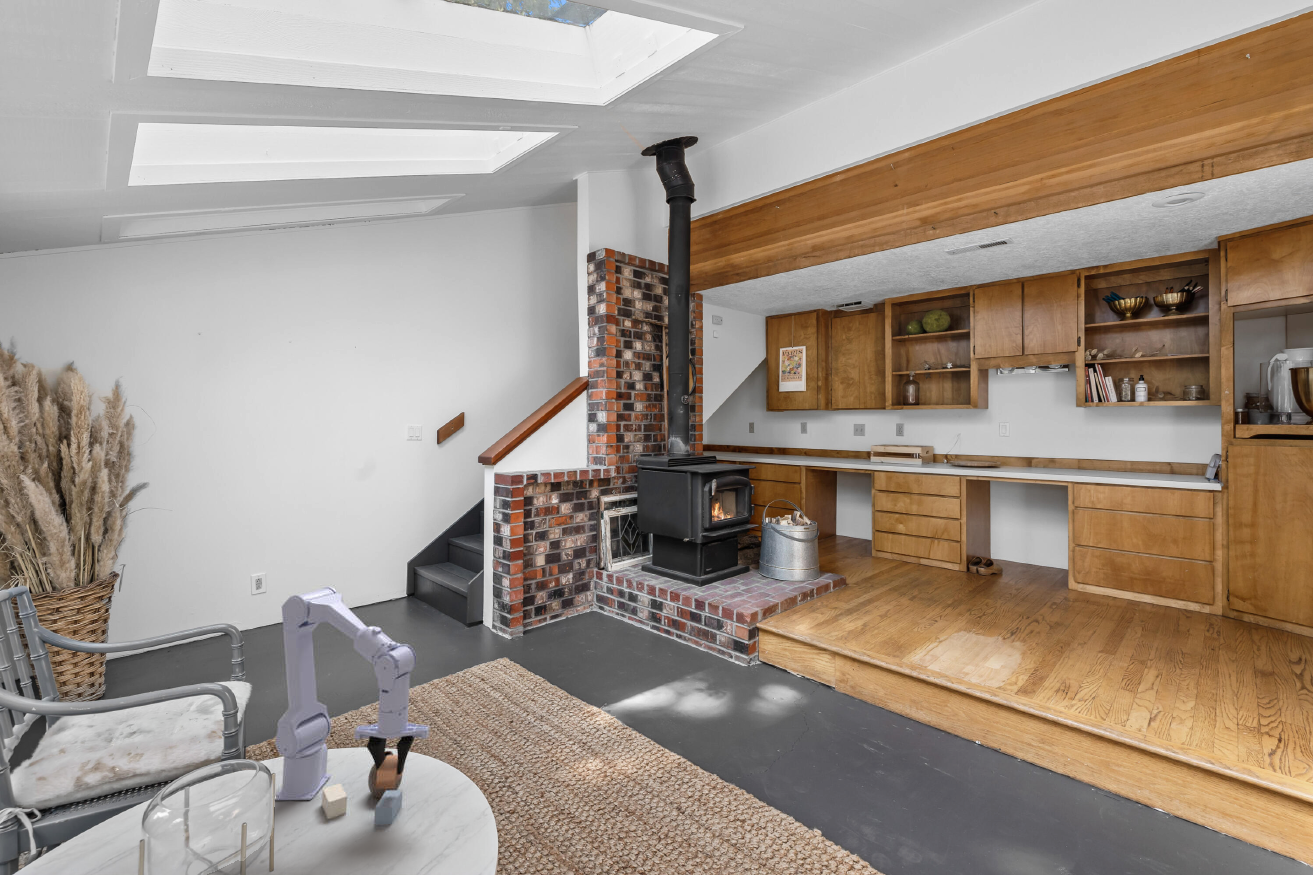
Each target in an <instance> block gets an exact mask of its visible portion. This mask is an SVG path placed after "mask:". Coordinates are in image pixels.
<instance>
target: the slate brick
mask: <svg viewBox="0 0 1313 875" xmlns="http://www.w3.org/2000/svg"><path fill="white" fill-rule="evenodd" d="M402 802H403V790H402V789H401V790H400V789H399V790H398V789H397V790H389V791H385V793H384V794H383V796H382V798H379V801H378V802H377V803H376V806H375V808H374V826H377V825H378V826H379V825H382V826H383V825H386V826H387V825H393V823H394V822H395V820H396V818H397V816H398V814H399V812H400V810H401V808H402V807H403V803H402Z"/></svg>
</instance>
